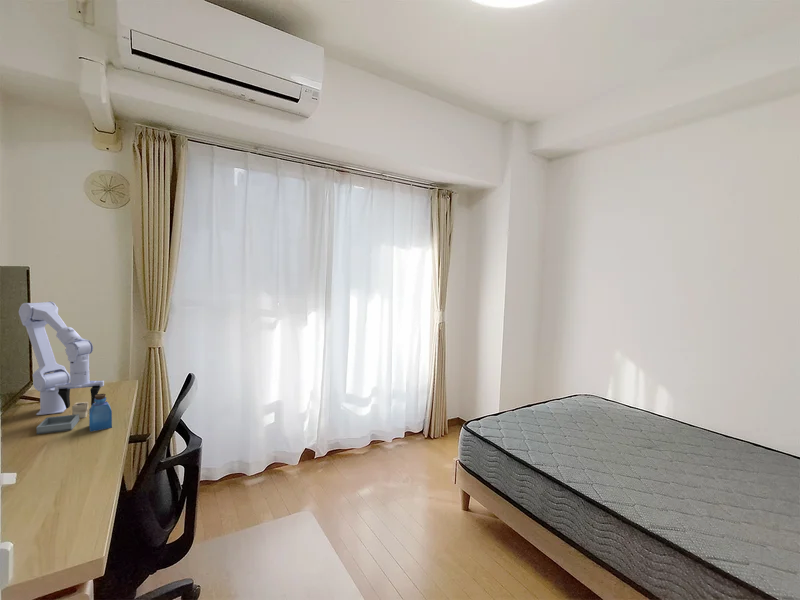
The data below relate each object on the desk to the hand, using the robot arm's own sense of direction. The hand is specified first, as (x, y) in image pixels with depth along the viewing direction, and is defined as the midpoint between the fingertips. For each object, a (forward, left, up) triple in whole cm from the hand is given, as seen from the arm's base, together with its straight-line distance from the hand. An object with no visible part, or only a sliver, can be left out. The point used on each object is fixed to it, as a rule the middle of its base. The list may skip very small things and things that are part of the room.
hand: (80, 406), depth 147 cm
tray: (+9, -4, -4) cm, 11 cm away
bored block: (0, 0, -4) cm, 4 cm away
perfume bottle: (+14, +9, -4) cm, 17 cm away
